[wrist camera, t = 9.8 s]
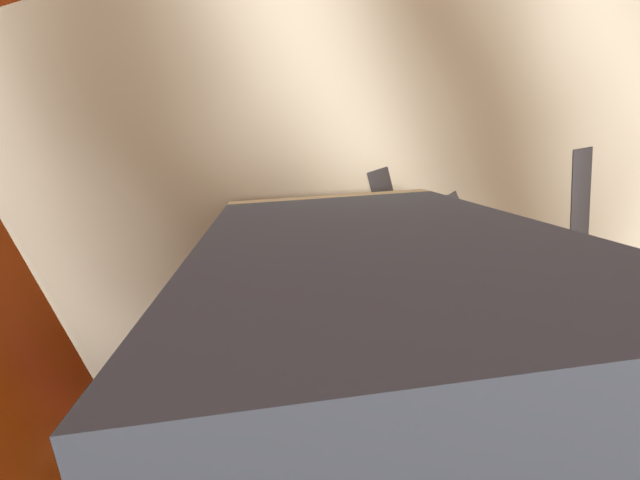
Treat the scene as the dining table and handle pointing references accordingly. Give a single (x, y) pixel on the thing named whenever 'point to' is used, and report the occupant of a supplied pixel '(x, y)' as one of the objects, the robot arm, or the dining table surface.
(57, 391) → the dining table surface
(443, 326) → the block
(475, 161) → the pine board
